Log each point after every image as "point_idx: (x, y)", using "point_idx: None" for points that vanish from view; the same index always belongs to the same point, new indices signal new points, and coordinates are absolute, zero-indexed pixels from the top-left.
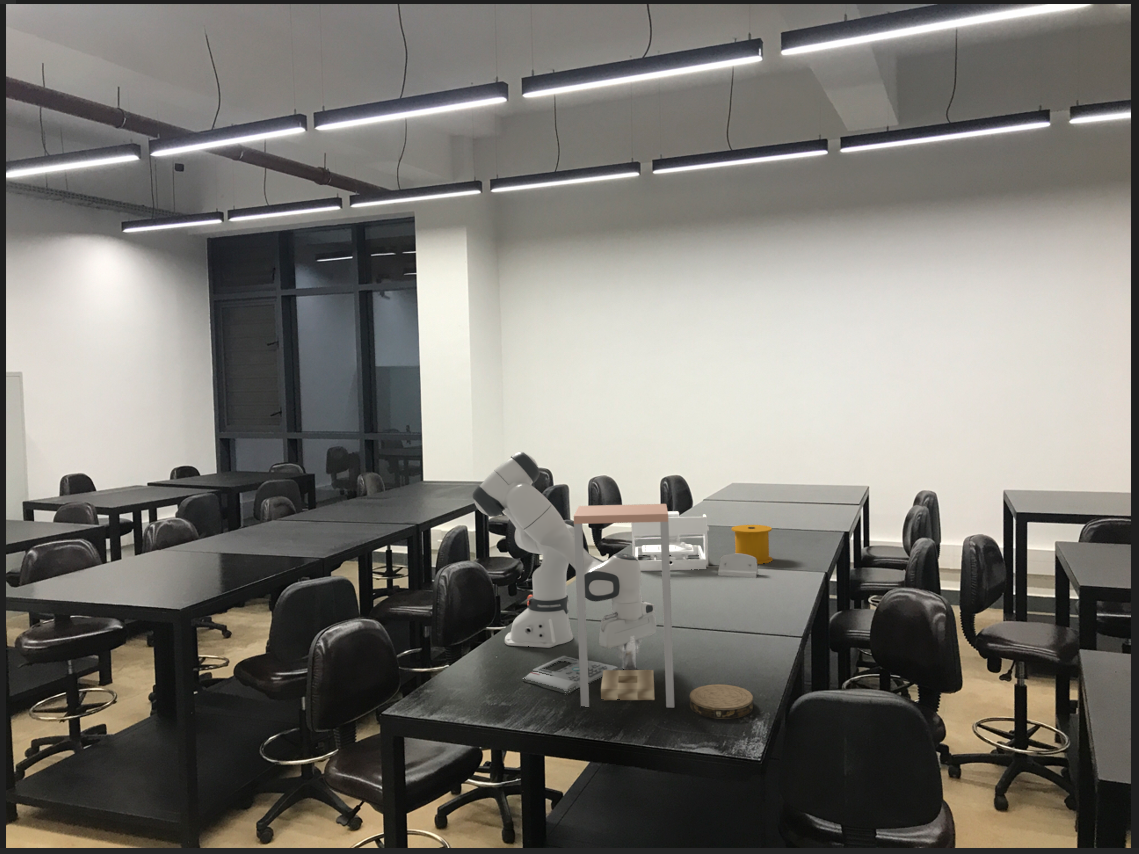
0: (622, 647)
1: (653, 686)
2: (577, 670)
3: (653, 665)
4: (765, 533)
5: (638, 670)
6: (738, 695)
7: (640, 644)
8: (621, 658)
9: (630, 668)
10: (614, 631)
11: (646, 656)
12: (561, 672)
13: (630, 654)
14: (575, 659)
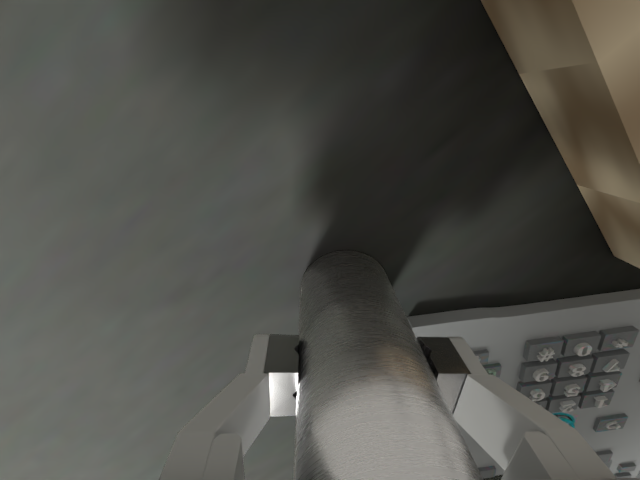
0: (531, 434)
1: None
2: (568, 418)
3: (187, 211)
4: None
5: (607, 42)
6: None
7: (213, 400)
8: (460, 343)
9: (375, 264)
10: None
11: (117, 346)
12: (610, 442)
13: (401, 331)
14: None
